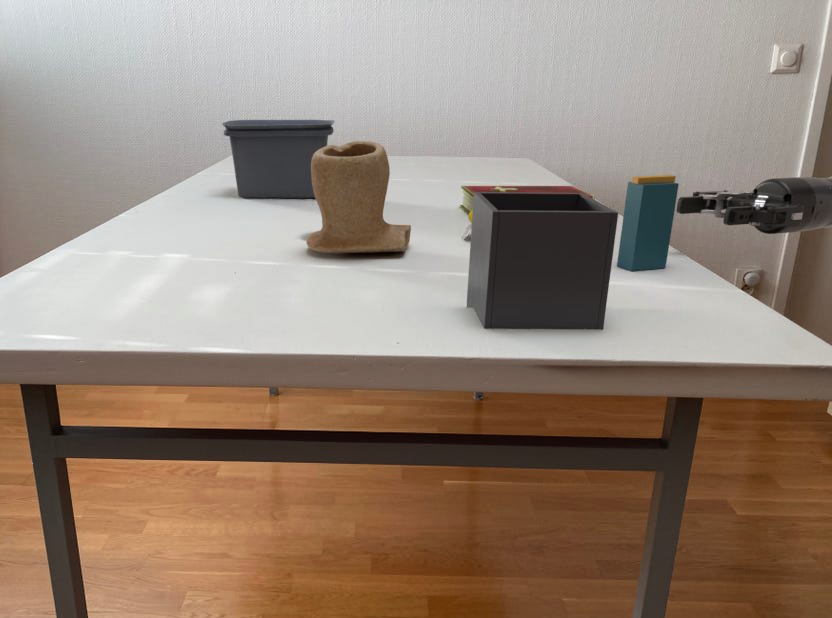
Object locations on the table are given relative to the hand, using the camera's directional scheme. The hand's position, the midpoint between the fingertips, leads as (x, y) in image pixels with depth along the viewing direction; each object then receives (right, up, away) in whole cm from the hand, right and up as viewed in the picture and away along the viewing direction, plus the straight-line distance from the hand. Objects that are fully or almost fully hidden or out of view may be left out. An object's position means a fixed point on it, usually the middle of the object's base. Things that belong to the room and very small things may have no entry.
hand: (701, 210), depth 103 cm
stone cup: (-45, -5, +6) cm, 46 cm away
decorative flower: (-24, 0, +18) cm, 30 cm away
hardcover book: (-15, +7, +37) cm, 41 cm away
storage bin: (-61, +13, +54) cm, 82 cm away
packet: (-8, -7, 0) cm, 11 cm away
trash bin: (-29, -16, -24) cm, 41 cm away
